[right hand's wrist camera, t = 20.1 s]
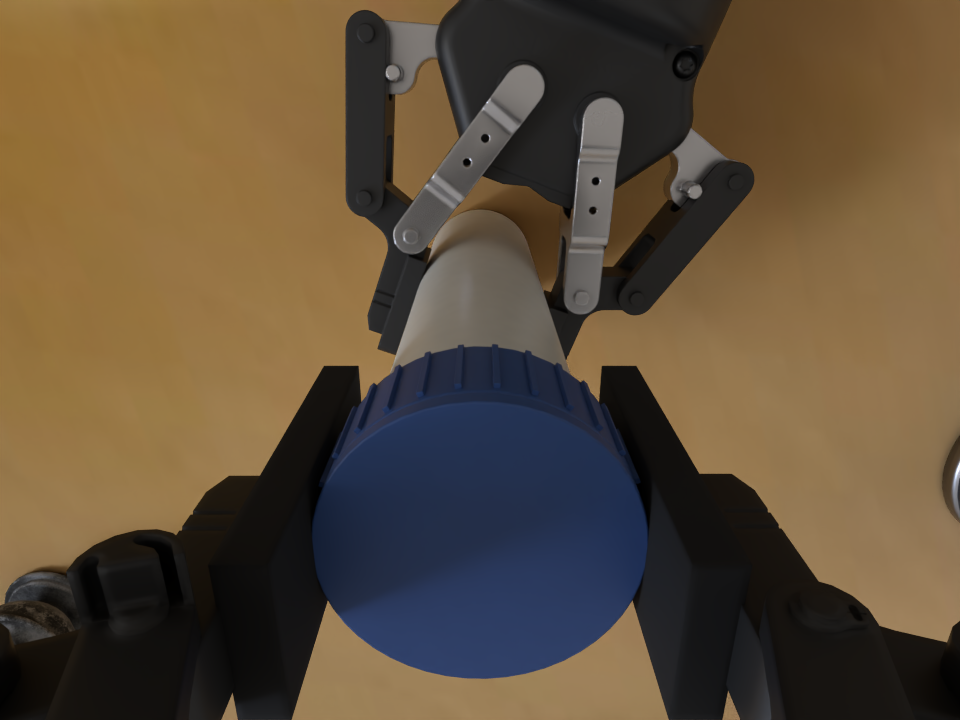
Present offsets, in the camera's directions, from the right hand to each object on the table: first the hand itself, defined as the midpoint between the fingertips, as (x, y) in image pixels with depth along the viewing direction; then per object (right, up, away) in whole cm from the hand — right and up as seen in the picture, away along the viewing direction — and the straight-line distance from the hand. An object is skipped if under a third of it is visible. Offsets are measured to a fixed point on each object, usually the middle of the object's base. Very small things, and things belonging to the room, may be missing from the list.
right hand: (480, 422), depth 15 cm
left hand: (-1, +1, +10) cm, 10 cm away
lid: (0, -2, -4) cm, 4 cm away
